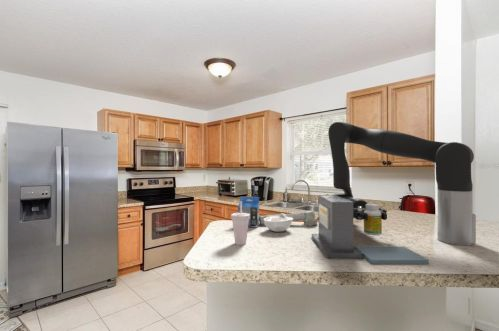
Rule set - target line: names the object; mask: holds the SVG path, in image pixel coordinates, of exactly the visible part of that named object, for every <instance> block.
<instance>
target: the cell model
mask: <svg viewBox="0 0 499 331" xmlns="http://www.w3.org/2000/svg"><path fill="white" fill-rule="evenodd" d="M285 214H286V213H283V212H281V213H280V216H269V217H266V218H264V224H265V225H264V226H265V227H266V228H267V229H269V231H271V232H272V231H273V232H274V233H275V232H276V233H277V232H285V231H287V230H288V229H289V228H290V226H291V225H292V224H293V223H292V222H294V221H293V218H291V217H287V216H286V215H285Z"/></svg>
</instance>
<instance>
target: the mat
mask: <svg viewBox="0 0 499 331" xmlns="http://www.w3.org/2000/svg"><path fill="white" fill-rule="evenodd" d="M354 246H355V247H356V248H358V249H359V250H360V251H361V252H362V253H363V259H365V260H366V262H368V263H369V264H371V265H374V264H375V265H377V264H381V265H383V264H384V265H385V264H387V265H390V264H391V265H394V264H396V265H400V264H401V265H402V264H403V265H404V264H405V265H412V264H413V265H418V264H419V265H420V264H421V265H422V264H423V265H428V264H429V262H430V261H429V259H428V258H427V257H424V256H422V255H420V254H419V253H417V252H416V251H415V252H414V251H413V250H412V249H410V248H408V247H406V246H373V245H372V246H371V245H370V246H356V245H354Z"/></svg>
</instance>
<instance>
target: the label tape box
mask: <svg viewBox="0 0 499 331" xmlns="http://www.w3.org/2000/svg"><path fill="white" fill-rule="evenodd" d="M240 201H242V213H248V214H250V218H249V223H248V228H249V227H252V228H259V226H260V222H259V216H260V197H259V196H239V203H238V206H237V213H240Z"/></svg>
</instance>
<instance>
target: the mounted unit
mask: <svg viewBox="0 0 499 331" xmlns="http://www.w3.org/2000/svg"><path fill="white" fill-rule="evenodd" d="M317 196H318V202H317V203H318V207H317V208H318V233H311V239H312V240H313V242H314V243H315V244H316V245H317V247H318V249H319V250H320V251H321V252H322V253H323V255H324V257H325V258H326V259H327V260H328V259H329V260H331V259H332V260H334V259H336V260H341V259H342V260H345V259H346V260H355V259H356V260H357V259H359V260H361V259H362V260H363V259H364V257H363V253H362V252H361V251H360V250H359V249H358V248H356V247H355V246H356V245H354V218H353V202H352V201H349V200H347V199H344V198H342V197H339V196H337V195H334V194H322V195H320V194H318V195H317Z"/></svg>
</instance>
